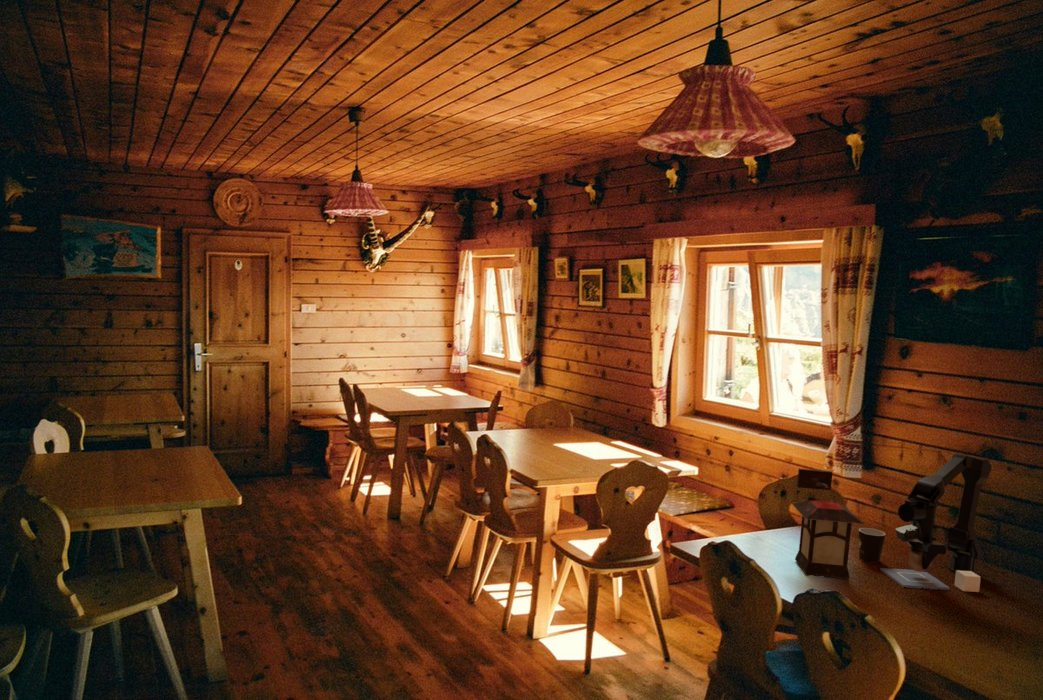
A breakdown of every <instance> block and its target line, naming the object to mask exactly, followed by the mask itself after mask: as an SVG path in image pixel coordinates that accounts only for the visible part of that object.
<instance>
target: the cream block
mask: <svg viewBox="0 0 1043 700" xmlns="http://www.w3.org/2000/svg"><path fill="white" fill-rule="evenodd" d="M975 573H976V572H975ZM975 573H973V572H972V571H959V570H956V572H955V576H954V577H955V578H954V586H955V587H957V589H960V591H963V592H972V593H973V592H974V593H975V592H976V593H980V586H981V576H980V575H978V574H975Z"/></svg>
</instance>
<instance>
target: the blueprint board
mask: <svg viewBox="0 0 1043 700" xmlns="http://www.w3.org/2000/svg"><path fill="white" fill-rule="evenodd" d="M879 570H880V572H882V573H883V574H884V575H886V576H887V577H888V578H890V579H891V580H893V581H894V582H895V583H896V584H898V585H899V586H901V588H903V589H906V588H908V589H921V588H924V589H925V590H926V588H927V590H938V589H940V590H942V591H950V590H951V588H950V586H948V585H947V584H945V583H944V582H942V581H941V580H939V579H938V578H937V577H935V576H933V575H931V574H930V572H917V571H915V570H913V569H905V568H903V569H902V568H890V567H889V568H888V567H887V568H886V567H880V569H879ZM904 587H906V588H904ZM928 588H929V589H928ZM924 589H923V590H924Z"/></svg>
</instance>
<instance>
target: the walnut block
mask: <svg viewBox="0 0 1043 700" xmlns="http://www.w3.org/2000/svg"><path fill="white" fill-rule="evenodd" d="M908 555H909V556H908V562H907V563H908V565H907V567H908V568H910V569H911V570H915V571H917V572H927V573H932V568H933V561H932V562H931V563H930V565H929V566H928V567H927V569H923V568H922V552H915V551H911V550H910V551H909V554H908Z"/></svg>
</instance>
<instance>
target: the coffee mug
mask: <svg viewBox="0 0 1043 700" xmlns="http://www.w3.org/2000/svg"><path fill="white" fill-rule="evenodd" d="M885 539H886V532H884V531H882V530H879V529H876V528H871V527H870V528H869V527H862V528H861V527H860V528H859V529H858V558H860V559H862V560H864V561H863V562H865V561H867V562H866V563H869V562H876V563H875V564H877V562H879V563H880V560H881V555H882V551H883V547H884V543H885ZM860 559H859V560H860ZM862 560H861V561H862Z"/></svg>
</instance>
